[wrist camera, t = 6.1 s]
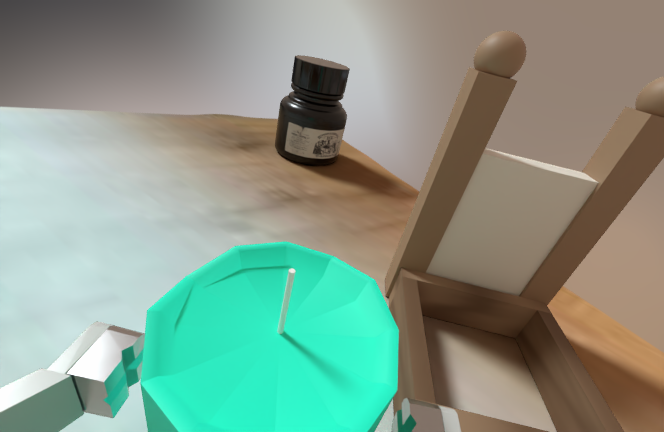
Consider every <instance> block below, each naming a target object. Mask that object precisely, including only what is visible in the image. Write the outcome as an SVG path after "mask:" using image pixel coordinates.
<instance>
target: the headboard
mask: <svg viewBox="0 0 664 432" xmlns="http://www.w3.org/2000/svg"><path fill="white" fill-rule="evenodd" d="M525 57H526V46H525V43H524V41H523V40H522V38H521V37H520V36H519V35H517V34H516V33H514V32H510V31H500V32H496V33H494V34H492V35H490V36H488V37H487V38H486V39H484V40H483V41H482V43H481V44H480V45H479V47H478V48H477V51H476V53H475V56H474V67H475V69H473V68H469V69H468V72H467V74H466V77H465V79H464V82H463V84H462V87H461V90H460V92H459V94H458V97H457V99H456V102H455V104H454V107H453V109H452V112H451V114H450V117H449V119H448V122H447V124H446V127H445V129H444V132H443V134H442V137H441V140H440V142H439V144H438V147H437V150H436V153H435V155H434V157H433V160H432V162H431V165H430V167H429V170H428V172H427V175H426V177H425V180H424V182H423V185H422V187H421V190H420V192H419V195H418V197H417V200H416V202H415V205H414V207H413V210H412V212H411V215H410V217H409V220H408V222H407V225H406V227H405V230H404V232H403V235H402V237H401V240H400V243H399V245H398V248H397V250H396V253H395V255H394V258H393V260H392V263H391V265H390V268H389V270H388V273H387V275H386V278H385V294H386V297H389V295H390V293H391V291H392V288H393V286H394V284H395V281H396V279H397V277H398V274H399V272H400V269H401V267H403V268H407V269H411V270H415V271H419V272H423V273H427V274H431V275H435V276H439V277H443V278H447V279H451V280H455V281H459V282H463V283H467V284H471V285H475V286H479V287H483V288H487V289H491V290H495V291H499V292H503V293H507V294H511V295H515V296H519V297H523V298H527V299H531V300H535V301H539V302H543V303H545V304H546V305H548V304H549V302H550V301H551V300H552V299H553V297H554V296H555V295H556V294H557V292H558V291H559V290H560V288H561V287H562V286H563V285H564V283H565V282H566V281H567V279H568V278H569V277H570V276H571V274H572V273H573V272H574V271H575V269H576V268H577V267H578V265H579V264H580V263H581V262H582V261H583V259H584V258H585V257H586V255H587V254H588V253H589V252H590V250H591V249H592V248H593V247H594V245H595V244H596V243H597V241H598V240H599V239H600V238H601V236H602V235H603V234H604V233H605V231H606V230H607V229H608V227H609V226H610V225H611V224H612V222H613V221H614V220H615V219H616V217H617V216H618V214H620V212H621V211H622V210H623V208H624V207H625V206H626V205H627V203H628V202H629V201H630V200H631V198H632V197H633V196H634V195H635V193H636V192H637V191H638V189H639V188H640V187H641V186H642V184H643V183H644V182H645V181H646V179H647V178H648V177H649V175H650V174H651V173H652V172H653V170H654V169H655V168H656V167H657V165H658V164H659V163H660V162H661V160H662V159H663V158H664V77H661V78H658V79H656V80H654V81H652V82H651V83H649V84H648V85H646V86H645V87H644V88H643V89H642V90H641V92H640V93H639V95H638V97H637V99H636V109H633V108H629V107H625V108H624V110H623V111H622V113H621V114H620V116H619V117H618V119H617V120H616V122H615V123H614V125H613V126H612V128H611V129H610V131H609V132H608V134H607V135H606V137H605V138H604V140H603V141H602V143H601V144H600V146H599V147H598V149H597V150H596V152H595V153H594V155H593V156H592V158H591V159H590V161H589V162H588V164H587V165H586V167H585V168H584V170H583V171H582V172H578V171H574V170H570V169H566V168H562V167H558V166H554V165H550V164H546V163H542V162H538V161H534V160H530V159H526V158H522V157H518V156H514V155H510V154H506V153H502V152H498V151H494V150H490V149H486V148H485V147H486V145H487V143H488V141H489V139H490V137H491V135H492V133H493V131H494V129H495V127H496V124H497V122H498V120H499V118H500V116H501V114H502V112H503V110H504V108H505V106H506V103H507V101H508V99H509V97H510V95H511V93H512V91H513V89H514V87H515V84H516V82H517V81H516V80H513V79H510V78H511V77H512V76H514V75H515V74H516V73H517V72H518V71H519V70H520V68H521V67H522V65H523V63H524V60H525Z"/></svg>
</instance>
